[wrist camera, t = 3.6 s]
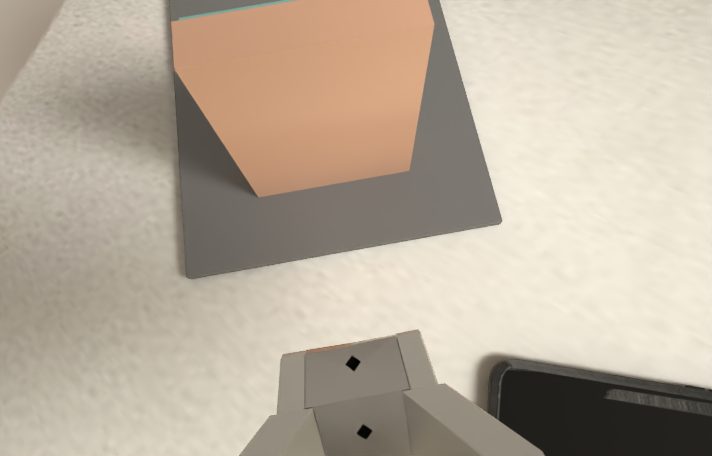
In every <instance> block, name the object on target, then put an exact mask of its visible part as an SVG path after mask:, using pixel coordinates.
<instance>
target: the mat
mask: <svg viewBox="0 0 712 456" xmlns="http://www.w3.org/2000/svg"><path fill="white" fill-rule="evenodd" d="M276 1H282V0H169V5H170V21H171V22H172V21H178V20H179V18H182V17H187V16H193V15H199V14H205V13H211V12H217V11H223V10H229V9H235V8H241V7H247V6H253V5H258V4H264V3H270V2H276ZM428 3H429V6H430V10H431V14H432V17H433V21H434V30H433V36H432V42H431V48H430V54H429V59H428V65H427V71H426V77H425V83H424V89H423V94H422V100H421V106H420V112H419V118H418V124H417V129H416V135H415V141H414V147H413V153H412V159H411V164H410V170H409V171H406V172H400V173H395V174H389V175H383V176H378V177H372V178H366V179H361V180H355V181H349V182H343V183H338V184H332V185H326V186H321V187H315V188H309V189H304V190H298V191H292V192H287V193H281V194H275V195H270V196H264V197H258V196H257V195H256V193H255V191H254V190H253V188H252V187H251V185H250V184H249V182H248V181H247V179H246V178H245V176H244V175H243V173H242V172H241V170H240V169H239V167H238V166H237V164H236V162H235V161H234V159H233V158H232V156H231V155H230V153H229V152H228V150H227V149H226V147H225V146H224V144H223V143H222V141H221V140H220V138H219V137H218V135H217V134H216V132H215V130H214V129H213V127H212V126H211V124H210V123H209V121H208V120H207V118H206V117H205V115H204V114H203V112H202V111H201V109H200V108H199V106H198V105H197V103H196V101H195V100H194V98H193V97H192V95H191V94H190V92H189V91H188V89H187V88H186V86H185V85H184V83H183V82H182V80H181V79H180V77H179V76H178V74H177V73H176V71H175V69H174V59H173V69H174V85H175V100H176V116H177V132H178V148H179V164H180V180H181V196H182V212H183V228H184V244H185V260H186V276H187V278H189V279H195V278H201V277H206V276H212V275H218V274H223V273H229V272H234V271H240V270H246V269H251V268H257V267H262V266H268V265H274V264H279V263H285V262H290V261H296V260H302V259H307V258H313V257H319V256H324V255H330V254H335V253H341V252H347V251H352V250H358V249H363V248H369V247H375V246H380V245H386V244H391V243H397V242H403V241H408V240H414V239H420V238H425V237H431V236H436V235H442V234H448V233H453V232H459V231H464V230H470V229H476V228H481V227H487V226H493V225H498V224H500V223H501V222H502V218H501V214H500V211H499V207H498V204H497V200H496V197H495V193H494V190H493V186H492V183H491V179H490V176H489V172H488V169H487V165H486V162H485V158H484V155H483V151H482V148H481V144H480V141H479V137H478V134H477V130H476V127H475V123H474V120H473V116H472V113H471V109H470V106H469V102H468V99H467V95H466V92H465V88H464V85H463V81H462V78H461V75H460V71H459V68H458V64H457V61H456V57H455V54H454V50H453V47H452V43H451V40H450V36H449V33H448V29H447V26H446V22H445V19H444V15H443V12H442V8H441V5H440V1H439V0H428ZM171 37H172V27H171ZM172 53H173V43H172Z"/></svg>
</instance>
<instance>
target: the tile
mask: <svg viewBox="0 0 712 456" xmlns="http://www.w3.org/2000/svg"><path fill="white" fill-rule="evenodd" d="M171 27H172V43H173V59H174V69H175V71H176V73H177V74H178V76H179V77H180V79H181V80H182V82H183V83H184V85H185V86H186V88H187V89H188V91H189V92H190V94H191V95H192V97H193V98H194V100H195V101H196V103H197V105H198V106H199V108H200V109H201V111H202V112H203V114H204V115H205V117H206V118H207V120H208V121H209V123H210V124H211V126H212V127H213V129H214V130H215V132H216V134H217V135H218V137H219V138H220V140H221V141H222V143H223V144H224V146H225V147H226V149H227V150H228V152H229V153H230V155H231V156H232V158H233V159H234V161H235V162H236V164H237V166H238V167H239V169H240V170H241V172H242V173H243V175H244V176H245V178H246V179H247V181H248V182H249V184H250V185H251V187H252V188H253V190H254V191H255V193H256V195H257V196H258V197H264V196H270V195H275V194H281V193H287V192H292V191H298V190H304V189H309V188H315V187H321V186H326V185H332V184H338V183H343V182H349V181H355V180H361V179H366V178H372V177H378V176H383V175H389V174H395V173H400V172H406V171H409V170H410V164H411V159H412V153H413V147H414V141H415V135H416V129H417V124H418V118H419V112H420V106H421V100H422V94H423V89H424V83H425V77H426V71H427V65H428V59H429V54H430V48H431V42H432V36H433V30H434V21H433V17H432V14H431V10H430V6H429V3H428V0H282V1H276V2H270V3H264V4H258V5H253V6H247V7H241V8H235V9H229V10H223V11H217V12H211V13H205V14H199V15H193V16H187V17H182V18H179V20H178V21H172V22H171Z"/></svg>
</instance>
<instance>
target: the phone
mask: <svg viewBox="0 0 712 456" xmlns="http://www.w3.org/2000/svg"><path fill="white" fill-rule="evenodd" d="M489 390H490V392H489ZM487 413H488V414H490V415H491V416H493V417H494V418H495V419H497V420H498V421H500V422H501V423H503V424H504V425H505V426H507V427H508V428H510V429H511V430H513V431H514V432H515V433H517V434H518V435H520V436H521V437H523V438H524V439H525V440H527V441H528V442H530V443H531V444H533V445H534V446H535V447H537V448H538V449H540V450H541V451H542V452H543V454H544V455H545V456H712V390H709V391H707V390H705V388H699V387H693V386H685V387H683V386H676V385H670V384H664V383H658V382H652V381H646V380H640V379H634V378H628V377H622V376H616V375H610V374H604V373H598V372H591V371H585V370H579V369H573V368H567V367H561V366H555V365H549V364H543V363H537V362H531V361H525V360H519V359H508V360H504V361H501V362H499V363H498V364H496V365H495V366H494V367H493V369H492V371H491V373H490V377H489V386H488V399H487Z"/></svg>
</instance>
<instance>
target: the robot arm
mask: <svg viewBox="0 0 712 456" xmlns="http://www.w3.org/2000/svg"><path fill="white" fill-rule="evenodd" d="M239 456H545V455H544V454H543V452H542V451H541V450H540V449H538V448H537V447H535V446H534V445H533V444H531V443H530V442H528V441H527V440H525V439H524V438H523V437H521V436H520V435H518V434H517V433H515V432H514V431H513V430H511V429H510V428H508V427H507V426H505V425H504V424H503V423H501V422H500V421H498V420H497V419H495V418H494V417H493V416H491V415H490V414H488V413H487V412H485V411H484V410H483V409H481V408H480V407H478V406H477V405H475V404H474V403H473V402H471V401H470V400H468V399H467V398H465V397H464V396H463V395H461V394H460V393H458V392H457V391H455V390H454V389H453V388H451V387H450V386H448V385H447V384H445V383H444V384H439V385H438V382H437V379H436V377H435V374H434V371H433V368H432V365H431V362H430V359H429V356H428V353H427V350H426V347H425V344H424V342H423V339H422V336H421V333H420V331H419V330H413V331H408V332H403V333H398V334H396V335H390V336H385V337H380V338H375V339H369V340H364V341H359V342H354V343H348V344H341V345H335V346H329V347H323V348H316V349H310V350H306V351H300V352H294V353H288V354H283V355H282V358H281V362H280V376H279V390H278V404H277V415H272V416H269V418H268V419H267V420H266V421H265V423H264V424H263V425H262V427H261V428H260V429H259V430H258V432H257V433H256V434H255V436H254V437H253V438H252V439H251V441H250V442H249V443H248V445H247V446H246V447H245V449H244V450H243V451H242V452H241V454H240V455H239Z"/></svg>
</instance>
